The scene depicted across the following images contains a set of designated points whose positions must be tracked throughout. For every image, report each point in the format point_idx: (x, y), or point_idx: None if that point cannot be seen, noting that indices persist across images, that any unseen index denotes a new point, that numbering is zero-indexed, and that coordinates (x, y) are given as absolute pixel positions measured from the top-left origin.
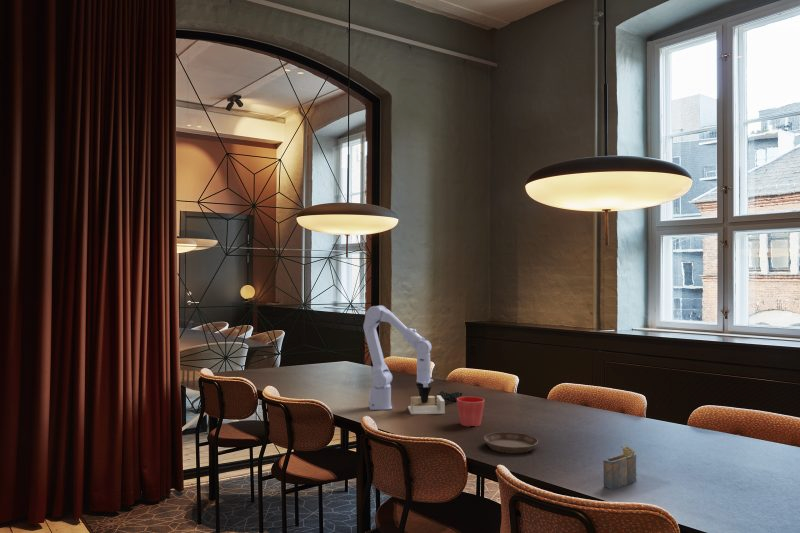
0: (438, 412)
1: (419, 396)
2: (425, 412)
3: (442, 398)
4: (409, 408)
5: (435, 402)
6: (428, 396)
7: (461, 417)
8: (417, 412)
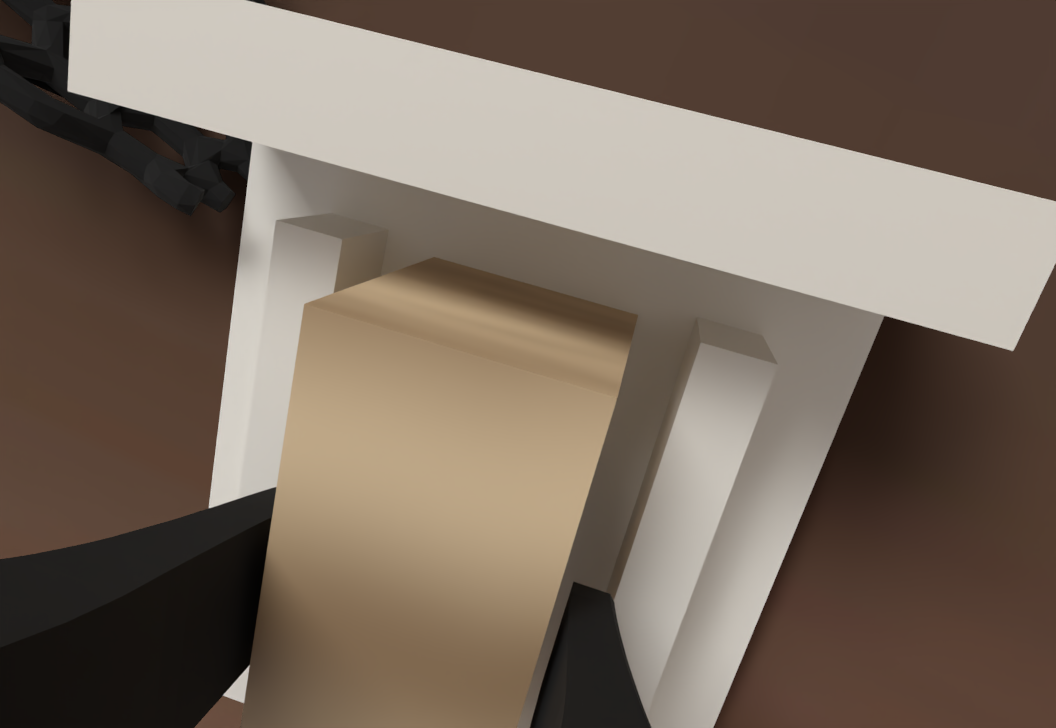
0: (870, 340)
1: (286, 720)
2: (764, 593)
3: (598, 98)
4: None
5: None
6: (348, 508)
7: None
8: (712, 723)
